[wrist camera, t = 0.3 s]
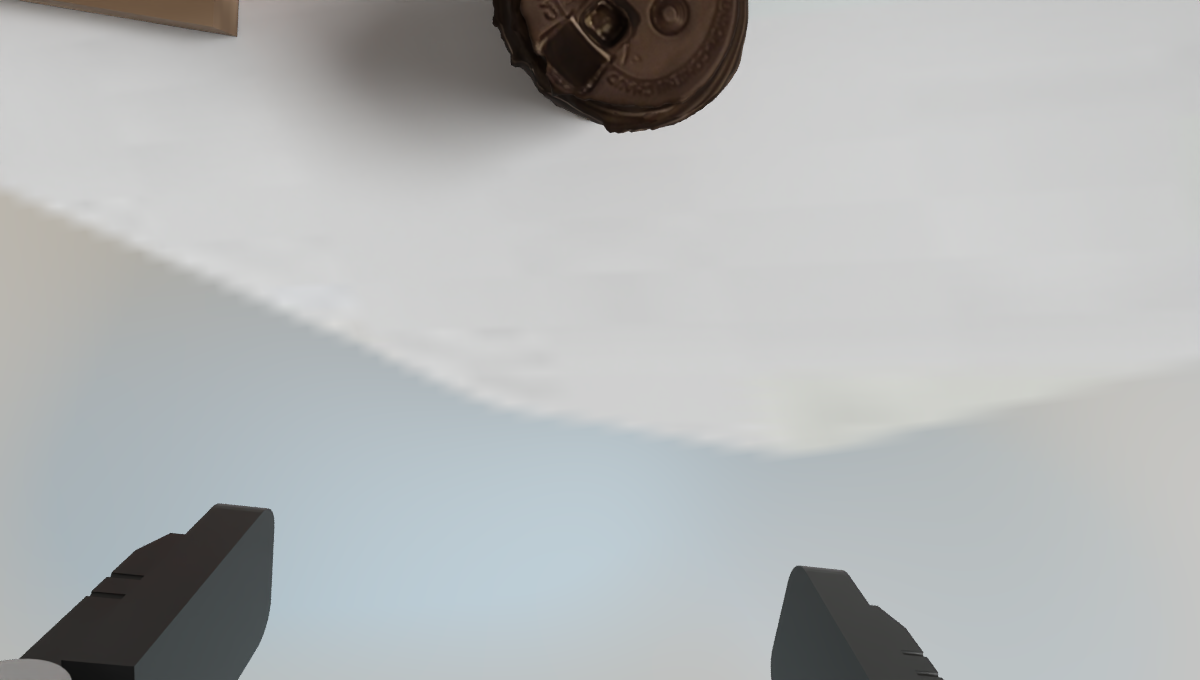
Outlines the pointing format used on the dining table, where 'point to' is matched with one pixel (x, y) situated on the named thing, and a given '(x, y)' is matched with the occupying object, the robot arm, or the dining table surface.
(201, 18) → the pronged fork
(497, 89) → the dining table surface
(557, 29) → the coffee cup
